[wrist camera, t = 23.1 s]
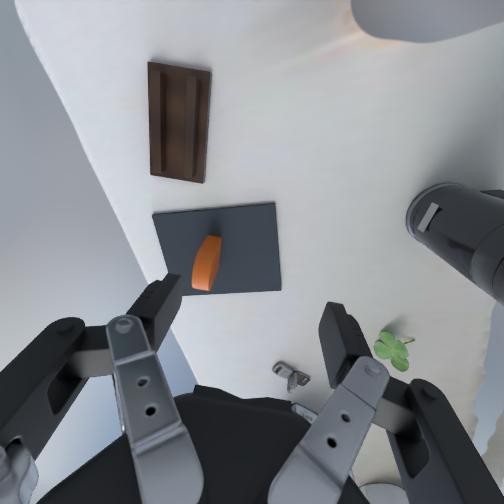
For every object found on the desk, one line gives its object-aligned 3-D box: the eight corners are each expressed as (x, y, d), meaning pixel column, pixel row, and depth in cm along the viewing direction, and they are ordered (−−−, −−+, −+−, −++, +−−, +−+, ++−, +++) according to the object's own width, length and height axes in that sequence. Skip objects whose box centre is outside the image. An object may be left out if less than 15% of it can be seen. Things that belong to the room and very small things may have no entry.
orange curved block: (207, 234, 42) (192, 260, 34) (222, 237, 42) (210, 263, 34) (205, 265, 45) (190, 296, 37) (218, 268, 45) (207, 298, 37)
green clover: (387, 324, 55) (365, 335, 52) (420, 318, 48) (397, 330, 45) (404, 358, 53) (382, 371, 50) (441, 357, 46) (418, 372, 43)
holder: (150, 63, 33) (139, 57, 30) (212, 73, 33) (206, 68, 30) (153, 173, 39) (144, 177, 37) (204, 182, 39) (199, 186, 37)
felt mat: (274, 203, 40) (275, 204, 39) (281, 288, 47) (281, 290, 46) (153, 214, 42) (151, 215, 42) (176, 294, 49) (175, 296, 48)
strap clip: (271, 368, 56) (271, 386, 52) (279, 360, 55) (279, 378, 51) (302, 384, 58) (304, 402, 54) (311, 377, 56) (313, 395, 53)
